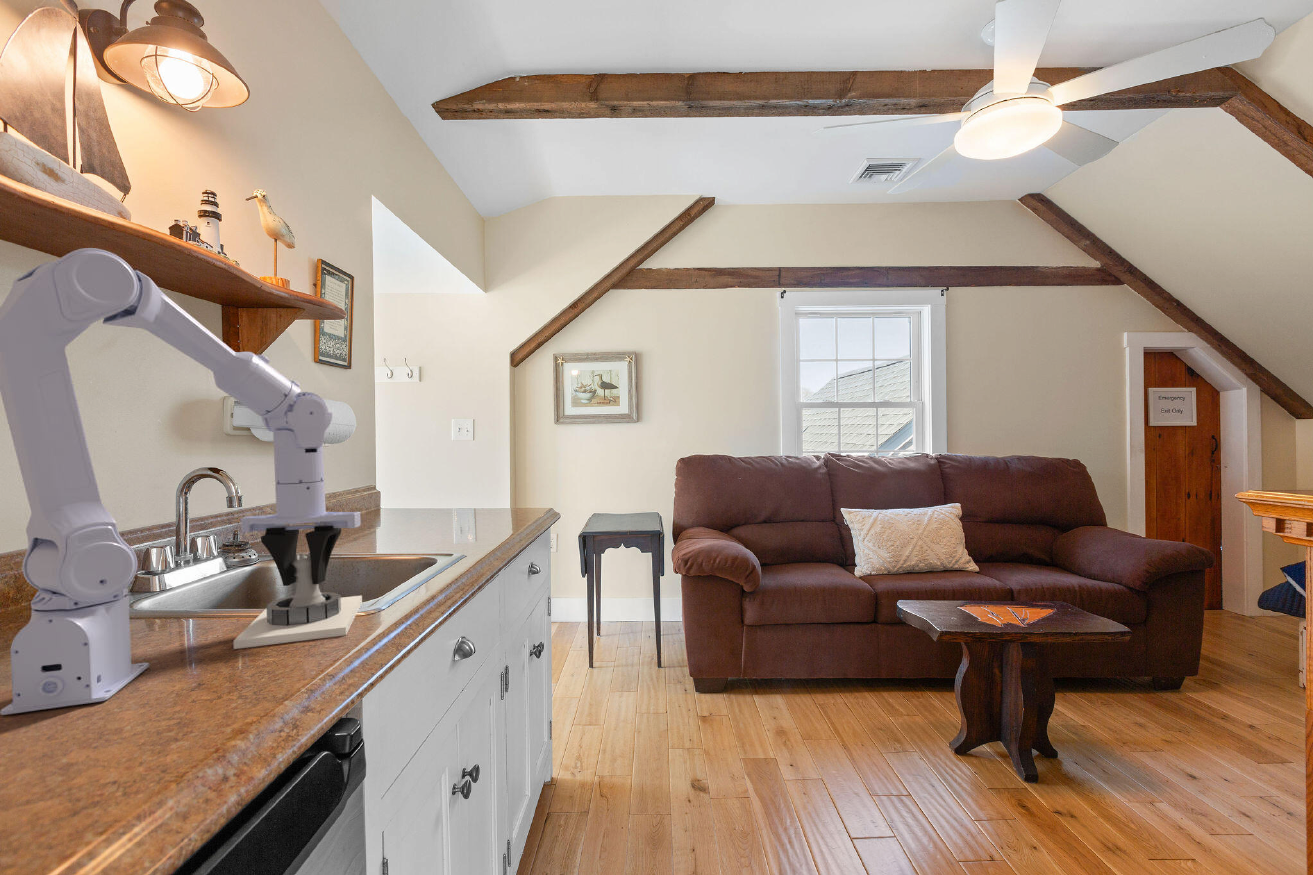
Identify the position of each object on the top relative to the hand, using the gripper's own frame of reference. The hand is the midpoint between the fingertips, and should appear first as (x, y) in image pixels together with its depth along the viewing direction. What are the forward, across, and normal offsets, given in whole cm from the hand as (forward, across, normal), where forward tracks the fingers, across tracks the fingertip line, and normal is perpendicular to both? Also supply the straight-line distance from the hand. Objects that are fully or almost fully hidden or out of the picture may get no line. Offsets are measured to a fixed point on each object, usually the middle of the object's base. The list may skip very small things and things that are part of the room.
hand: (304, 583), depth 82 cm
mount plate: (+5, 0, 0) cm, 5 cm away
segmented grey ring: (+5, 0, 0) cm, 5 cm away
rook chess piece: (+4, 0, -1) cm, 5 cm away
